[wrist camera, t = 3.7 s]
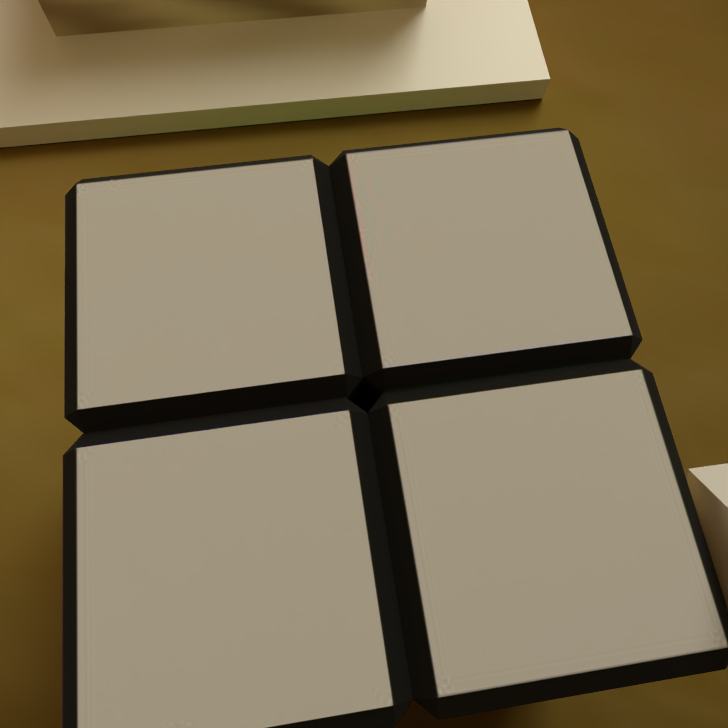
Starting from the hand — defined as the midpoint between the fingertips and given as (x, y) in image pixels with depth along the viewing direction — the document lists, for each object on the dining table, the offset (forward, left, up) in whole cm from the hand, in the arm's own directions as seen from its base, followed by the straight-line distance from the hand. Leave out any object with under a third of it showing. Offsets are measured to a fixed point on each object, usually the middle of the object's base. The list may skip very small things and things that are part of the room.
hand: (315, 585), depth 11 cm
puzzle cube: (-1, -3, -9) cm, 9 cm away
